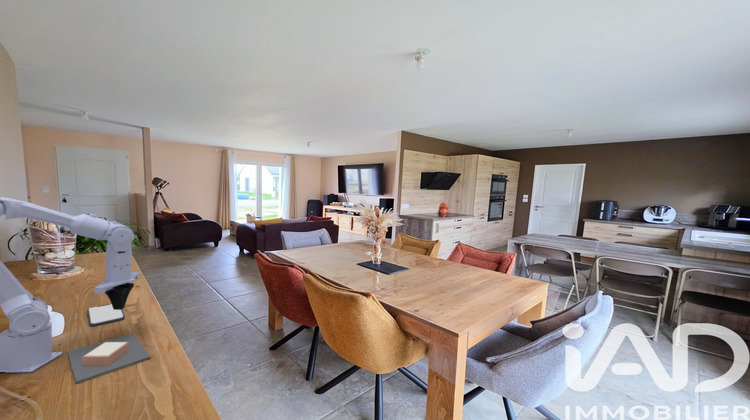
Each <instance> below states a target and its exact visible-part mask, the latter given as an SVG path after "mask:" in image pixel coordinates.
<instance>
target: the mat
mask: <svg viewBox="0 0 750 420" xmlns="http://www.w3.org/2000/svg"><path fill="white" fill-rule="evenodd" d="M105 342H129V350H128V351H127V352H126V353H124V354H123V355H122V356H121V357H119V358H118V359H117V360H115V361H114V362H113V363H111V364H110V365H109V366H82V357H83V356H84V355H86V354H88V353H89V352H91V351H92V350H94V349H95V348H97V347H98V346H100V345H102V344H103V343H105ZM67 356H68V359H69V364H70V367H71V371H72V373H73V378H74V382H75V385H77V384H81V383H83V382H87V381H88V380H89V381H90V380H92V379H95V378H97V377H100V376H103V375H106V374H109V373H112V372H116V371H119V370H122V369H124V368H127V367H129V366H133V365H136V364H139V363H142V362H145V361H147V360H150V359H151V356H150V354H149V353H148V351H147V350H146V349H145V346H144V345H143V344H142V343H141V341H140V340H139V338H138V337H137V336H136V334H135V333H133V332H131V333H129V334H125V335H122V336H118V337H114V338H111V339H107V340H104V341H103V340H102V341H100V342H95V343H93V344H89V345H85V346H81V347H78V348H74V349H71V350H67ZM80 382H81V383H80Z"/></svg>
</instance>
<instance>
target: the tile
mask: <svg viewBox="0 0 750 420" xmlns="http://www.w3.org/2000/svg"><path fill="white" fill-rule="evenodd" d="M128 350H129V342H105V343H103V344H102V345H100V346H98V347H97V348H95V349H94V350H92V351H91V352H89V353H88V354H86V355H84V356H83V357H82V366H109V365H110V364H111V363H113V362H114V361H115V360H117V359H118V358H119V357H121V356H122V355H123V354H124V353H126V352H127V351H128Z"/></svg>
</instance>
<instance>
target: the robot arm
mask: <svg viewBox="0 0 750 420" xmlns="http://www.w3.org/2000/svg"><path fill="white" fill-rule="evenodd" d="M4 215H5V218H4V220H13V219H21V218H28V219H31V220H35V221H40V222H43V223H48V224H54V225H57V226H61V227H62V226H63V227H65V228H68V229H69V232H70V233H71V234H73V235H77V236H82V237H86V238H90V239H94V240H98V241H107V242H106V250H105V280H104V281H102V282H101V283H99V284H98V285H97V286H95V287H94V295H104V294H105V295H106V296H107V297H108V299H109V301H110V304H112V306H113V309H114V310H121V309H122V310H123V309H125V306H126V303H127V301H128V297H129V295H130V293H131V291H132V290H133V289H134V287H135V283H133V282H135V281H136V279H137V280H138V279H140V275H141V273H140V272H139V271H133V268H132V267H133V266H132V265H133V264H132V263H133V249H132V245H133V244H132V242H133V241H134V239H135V236H136V234H134V231H133V229H131V228H130V227H128V226H127V225H124V224H122V223H120V222H119V223H118V221H115V220H111V221H110V220H105V219H103V218H100V217H97V215H96V214H93V213H89V214H86V213H82V214H77V215H71V214H68V213H64V212H61V211H58V210H55V209H51V208H47V207H44V206H41V205H38V204H35V203H32V202H28V201H24V200H21V199H20V200H19V199H15V198H11V197H6V196H0V217H1V216H4ZM132 271H133V272H132ZM0 307H1V310H2V312H3V313H4V315H5V316H6V317H7V319H8V320H9V329H5V330H3V331H2V332H0V372H5V373H33V372H34V371H36V370H38V369H39V368H41V367H43V366H44V365H46V364H48V363H49V362H51V361H53V360H54V359H56V358H58V357H59V356H61V355H63V352H62V351H53V349H52V348H53V347H52V346H53V344H52V343H53V341H52V339H53V337H52V336H53V335H52V333H53V332H52V331H53V328H52V326H53V325H52V322H51V321H50V320H51V315H50V313H49V305H48V303H47V302H46V301H44V300H43V299H39V298H36V297H35V296H34V295H33V294H32V293H31V292H30V291H28V290H27V289H26V288H25V287H24V286H23V285H22V283H21V282H20V281H19V280H18V279H17V277H16V276H15V275H14V274H13V273H12V272H11V270H10V269H9V268H8V267H7V266H6V265H5V264H4V263H3V261H2V260H1V259H0Z"/></svg>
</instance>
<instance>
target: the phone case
mask: <svg viewBox="0 0 750 420" xmlns="http://www.w3.org/2000/svg"><path fill="white" fill-rule="evenodd" d="M86 315H87V319H88V325H89V327H90V328H95V327H100V326H104V325H108V324H112V323H118V322H121V321H122V322H123V321H124V320H125V319H126V316H125V313H124V310H123V309H121V310H114V309H113V306H112V304H111V303H108V304H104V305H103V304H102V305H97V306H93V307H89V308H87V313H86Z"/></svg>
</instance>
